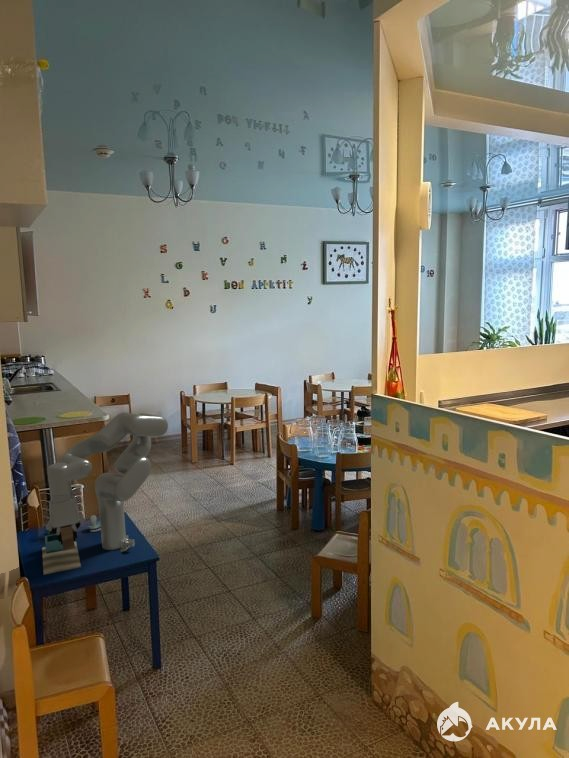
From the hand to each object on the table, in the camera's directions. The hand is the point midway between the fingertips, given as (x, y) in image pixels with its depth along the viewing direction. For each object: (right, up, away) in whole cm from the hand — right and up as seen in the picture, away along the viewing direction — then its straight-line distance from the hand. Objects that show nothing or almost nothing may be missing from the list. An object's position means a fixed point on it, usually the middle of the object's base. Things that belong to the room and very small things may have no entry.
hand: (68, 541), depth 214 cm
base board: (-6, -10, +8) cm, 14 cm away
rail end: (0, -2, +1) cm, 3 cm away
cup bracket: (-9, -8, +10) cm, 15 cm away
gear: (-16, -6, +31) cm, 35 cm away
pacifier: (-2, -5, +36) cm, 36 cm away
